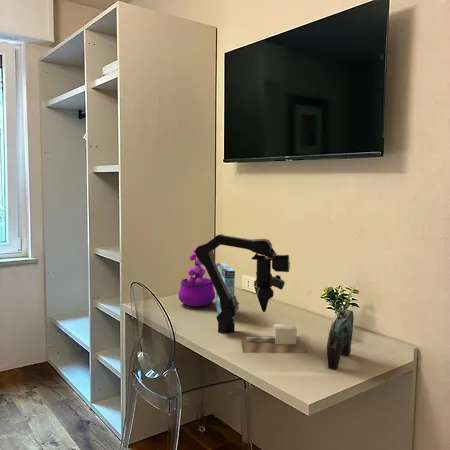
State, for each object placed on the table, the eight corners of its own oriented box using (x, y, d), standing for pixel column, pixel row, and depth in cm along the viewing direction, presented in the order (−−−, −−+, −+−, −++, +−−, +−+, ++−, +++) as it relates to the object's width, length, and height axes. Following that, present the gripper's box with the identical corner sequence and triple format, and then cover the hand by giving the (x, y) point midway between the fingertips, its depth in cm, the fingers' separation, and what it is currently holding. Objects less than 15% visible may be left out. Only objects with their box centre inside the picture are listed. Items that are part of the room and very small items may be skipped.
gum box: (215, 308, 230) (215, 263, 228) (225, 308, 231) (225, 262, 229) (223, 320, 211) (224, 270, 209) (234, 319, 212) (235, 270, 210)
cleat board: (242, 355, 168) (243, 348, 168) (240, 338, 186) (240, 332, 186) (308, 356, 169) (308, 348, 169) (299, 339, 187) (300, 332, 186)
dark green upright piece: (339, 350, 175) (341, 298, 173) (356, 353, 172) (358, 300, 170) (322, 368, 158) (324, 311, 156) (341, 372, 155) (343, 314, 153)
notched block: (275, 344, 178) (275, 328, 177) (273, 338, 184) (273, 323, 183) (296, 344, 178) (296, 328, 177) (293, 338, 184) (294, 324, 183)
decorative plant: (222, 304, 238) (223, 246, 235) (197, 312, 224) (197, 250, 221) (196, 298, 250) (196, 243, 247) (170, 305, 236) (170, 246, 233)
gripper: (287, 275, 177) (286, 315, 178) (280, 266, 195) (279, 302, 197) (257, 275, 177) (257, 315, 178) (254, 266, 195) (253, 302, 197)
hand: (262, 308), depth 187 cm, fingers open, 9 cm apart
